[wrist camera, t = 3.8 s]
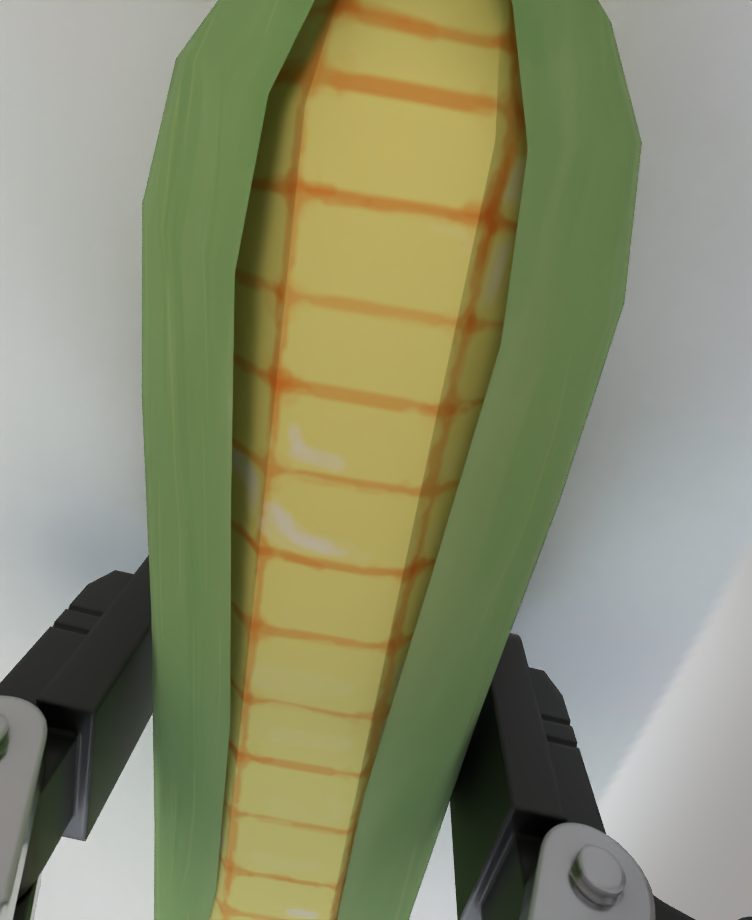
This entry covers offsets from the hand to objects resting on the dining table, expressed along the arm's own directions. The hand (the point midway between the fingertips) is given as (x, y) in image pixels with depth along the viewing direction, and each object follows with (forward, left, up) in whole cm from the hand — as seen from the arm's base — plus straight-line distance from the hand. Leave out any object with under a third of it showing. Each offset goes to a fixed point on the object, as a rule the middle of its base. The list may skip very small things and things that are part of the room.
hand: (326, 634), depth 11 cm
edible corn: (0, 0, -1) cm, 1 cm away
